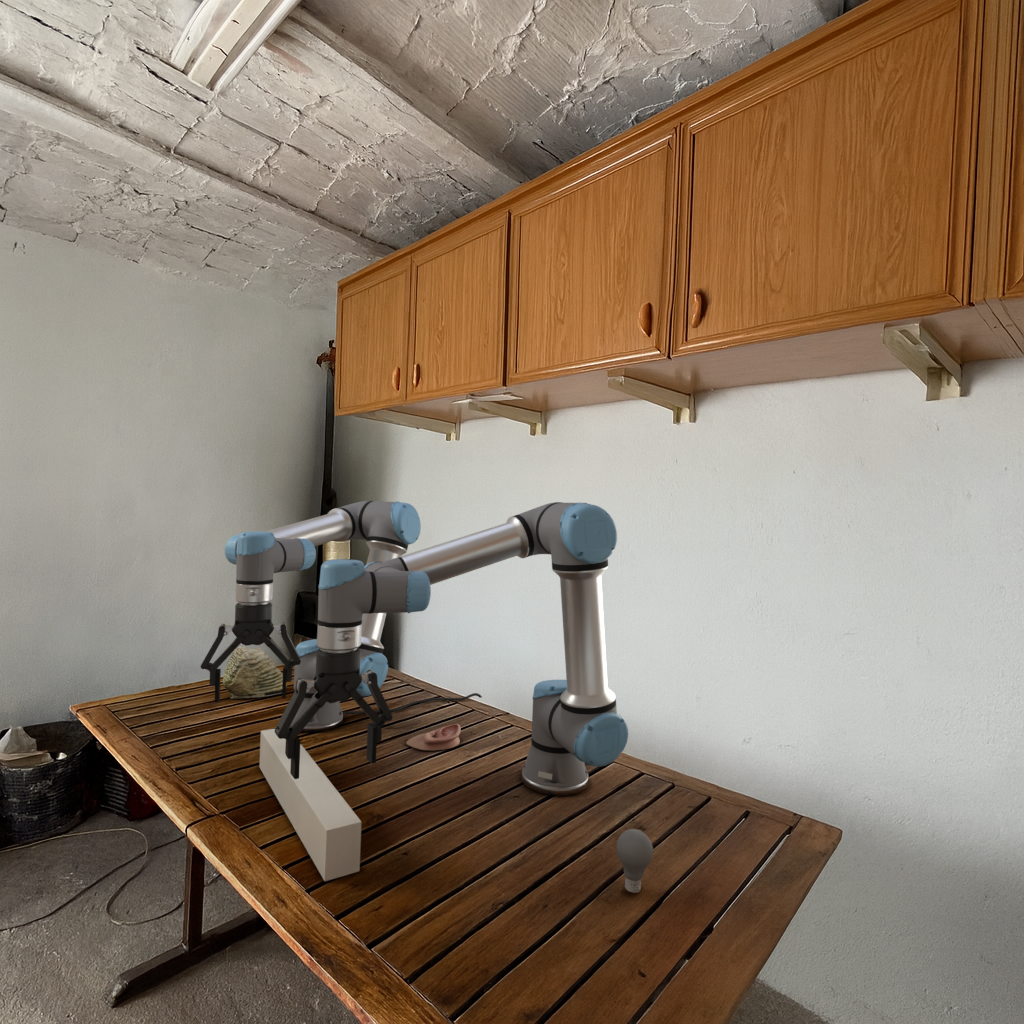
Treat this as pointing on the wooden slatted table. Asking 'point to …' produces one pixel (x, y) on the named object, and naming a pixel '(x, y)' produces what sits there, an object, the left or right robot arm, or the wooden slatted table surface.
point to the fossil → (252, 674)
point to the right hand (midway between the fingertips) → (334, 768)
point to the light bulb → (634, 857)
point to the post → (313, 809)
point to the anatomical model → (437, 738)
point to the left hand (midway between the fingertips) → (251, 698)
